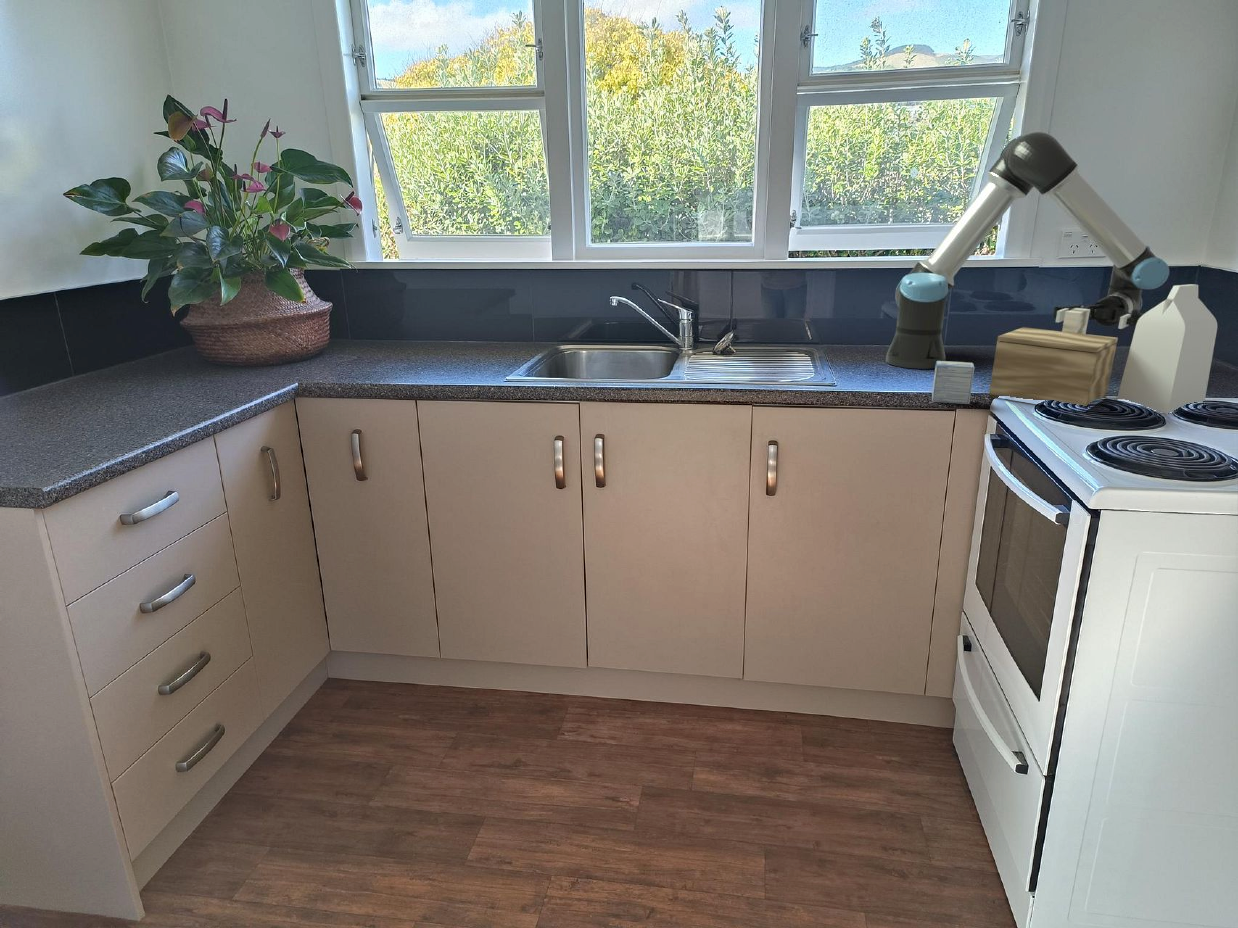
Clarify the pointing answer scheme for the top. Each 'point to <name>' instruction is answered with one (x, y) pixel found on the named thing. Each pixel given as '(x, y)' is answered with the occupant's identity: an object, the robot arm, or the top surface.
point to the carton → (1050, 373)
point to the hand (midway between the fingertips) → (1088, 319)
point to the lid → (1063, 335)
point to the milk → (1171, 353)
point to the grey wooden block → (953, 382)
